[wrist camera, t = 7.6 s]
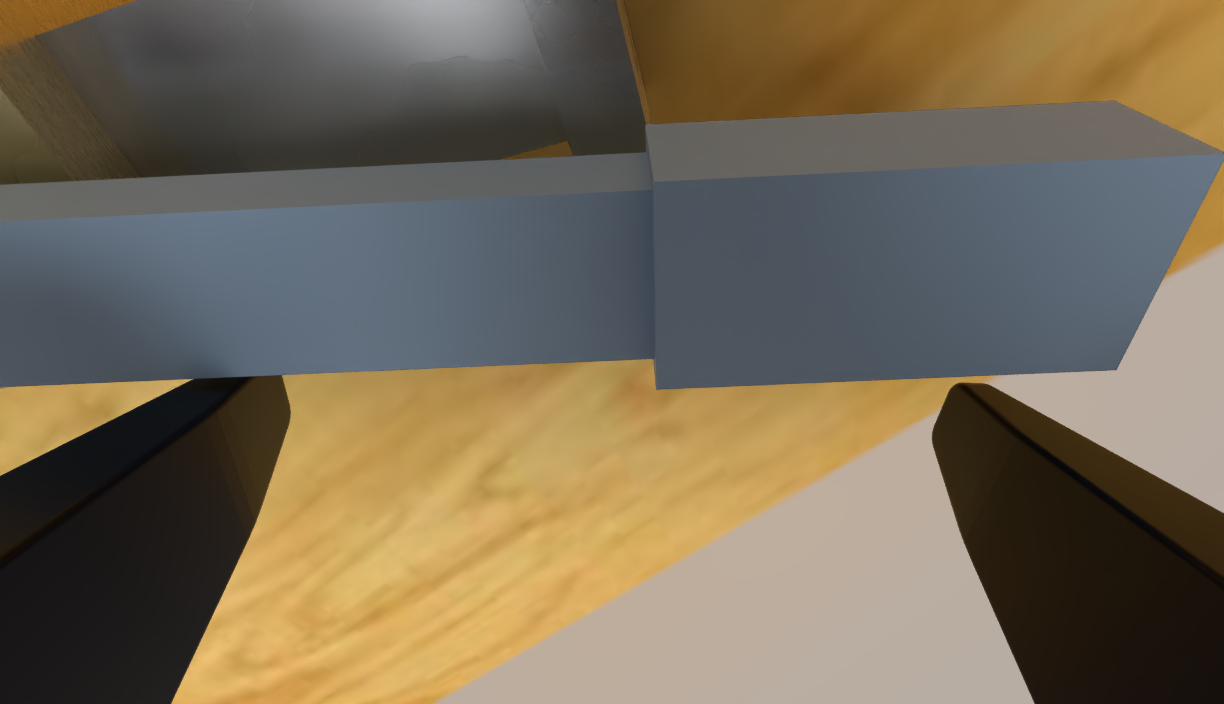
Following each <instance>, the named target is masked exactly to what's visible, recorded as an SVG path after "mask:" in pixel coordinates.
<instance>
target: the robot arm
mask: <svg viewBox="0 0 1224 704" xmlns="http://www.w3.org/2000/svg"><path fill="white" fill-rule="evenodd" d="M290 415H291V411H290V404H289V400H288V396H287V393H286V389H285V385H284V382H283V378H282V375H269V376H246V377H223V378H200V379H193V380H191V381H189V382H187V383H185V384H183V385H181V386H179V387H177V388H175V389H173V390H171V391H169V392H167V393H165V394H163V395H161V396H159V397H157V398H155V399H153V400H151V401H149V402H147V403H145V404H143V405H141V406H139V407H137V408H135V409H133V410H131V411H129V412H127V413H125V414H123V415H121V416H119V417H117V418H115V419H113V420H111V421H109V422H107V423H105V424H103V425H101V426H99V427H97V428H95V429H93V430H91V431H89V432H87V433H85V434H83V435H81V436H79V437H77V438H75V439H73V440H71V441H69V442H67V443H65V444H63V445H61V446H59V447H57V448H55V449H53V450H51V451H49V452H47V453H45V454H43V455H41V456H39V457H37V458H35V459H33V460H31V461H29V462H27V463H25V464H23V465H21V466H19V467H17V468H15V469H13V470H11V471H9V472H7V473H5V474H3V475H1V476H0V704H171V703H172V701H173V698H174V696H175V694H176V692H177V690H178V688H179V686H180V684H181V681H182V679H183V677H184V675H185V673H186V671H187V669H188V667H189V664H190V662H191V660H192V658H193V656H194V654H195V652H196V650H197V648H198V645H199V643H200V641H201V639H202V637H203V635H204V633H205V631H206V628H207V626H208V624H209V622H210V620H211V618H212V616H213V614H214V611H215V609H216V607H217V605H218V603H219V601H220V599H221V597H222V594H223V592H224V590H225V588H226V586H227V584H228V582H229V580H230V578H231V575H232V573H233V571H234V569H235V567H236V565H237V563H238V561H239V558H240V556H241V554H242V552H243V550H244V548H245V546H246V544H247V541H248V539H249V537H250V535H251V532H252V530H253V528H254V526H255V523H256V521H257V518H258V515H259V513H260V510H261V507H262V504H263V501H264V498H265V495H266V492H267V489H268V486H269V483H270V480H271V477H272V474H273V471H274V468H275V465H276V462H277V459H278V456H279V453H280V450H281V447H282V444H283V441H284V438H285V435H286V432H287V429H288V426H289V423H290ZM932 443H933V448H934V451H935V454H936V457H937V460H938V464H939V467H940V470H941V473H942V476H943V479H944V483H945V486H946V489H947V492H948V495H949V499H950V502H951V505H952V508H953V511H954V514H955V518H956V521H957V524H958V527H959V530H960V533H961V535H962V538H963V541H964V544H965V546H966V548H967V551H968V553H969V556H970V558H971V561H972V563H973V565H974V567H975V570H976V572H977V574H978V576H979V579H980V581H981V583H982V586H983V588H984V590H985V592H986V595H987V597H988V599H989V601H990V604H991V606H992V608H993V610H994V613H995V615H996V617H997V619H998V622H999V624H1000V626H1001V628H1002V631H1003V633H1004V635H1005V637H1006V640H1007V642H1008V644H1009V647H1010V649H1011V651H1012V654H1013V656H1014V658H1015V660H1016V663H1017V665H1018V667H1019V669H1020V672H1021V674H1022V676H1023V679H1024V681H1025V683H1026V685H1027V687H1028V690H1029V692H1030V694H1031V696H1032V699H1033V701H1034V703H1035V704H1224V513H1222V512H1220V511H1219V510H1217V509H1215V508H1213V507H1211V506H1209V505H1208V504H1206V503H1204V502H1202V501H1200V500H1198V499H1197V498H1195V497H1193V496H1191V495H1190V494H1188V493H1186V492H1184V491H1182V490H1180V489H1178V488H1177V487H1175V486H1173V485H1171V484H1169V483H1168V482H1166V481H1164V480H1162V479H1160V478H1158V477H1157V476H1155V475H1153V474H1151V473H1149V472H1148V471H1146V470H1144V469H1142V468H1140V467H1138V466H1137V465H1135V464H1133V463H1131V462H1129V461H1127V460H1126V459H1124V458H1122V457H1120V456H1118V455H1117V454H1114V453H1113V452H1111V451H1109V450H1107V449H1106V448H1104V447H1102V446H1100V445H1098V444H1096V443H1095V442H1093V441H1091V440H1089V439H1087V438H1085V437H1084V436H1082V435H1080V434H1078V433H1076V432H1074V431H1073V430H1071V429H1069V428H1067V427H1065V426H1063V425H1062V424H1060V423H1058V422H1056V421H1054V420H1053V419H1051V418H1049V417H1047V416H1045V415H1043V414H1042V413H1040V412H1038V411H1036V410H1034V409H1033V408H1031V407H1029V406H1027V405H1025V404H1023V403H1022V402H1020V401H1018V400H1016V399H1014V398H1012V397H1011V396H1009V395H1007V394H1005V393H1003V392H1001V391H1000V390H998V389H996V388H994V387H992V386H990V385H988V384H984V383H957V384H955V385H954V386H953V387H952V388H951V389H950V391H949V392H948V395H947V397H946V399H945V402H944V404H943V406H942V409H941V411H940V413H939V416H938V418H937V420H936V423H935V425H934V428H933V432H932Z"/></svg>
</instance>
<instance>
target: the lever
mask: <svg viewBox="0 0 1224 704" xmlns="http://www.w3.org/2000/svg"><path fill="white" fill-rule="evenodd" d="M645 134H646V152H645V153H625V154H605V155H585V156H565V157H546V158H526V159H506V160H486V161H466V162H446V163H426V164H406V165H386V166H366V167H346V168H326V169H307V170H287V171H267V172H247V173H227V174H207V175H187V176H167V177H147V178H127V179H107V180H87V181H68V182H48V183H28V184H8V185H0V387H16V386H39V385H62V384H85V383H108V382H131V381H154V380H177V379H200V378H223V377H246V376H269V375H292V374H315V373H338V372H361V371H384V370H407V369H431V368H454V367H477V366H500V365H523V364H546V363H569V362H592V361H615V360H638V359H653V360H654V370H655V381H656V390H659V389H682V388H706V387H729V386H753V385H777V384H800V383H824V382H847V381H871V380H895V379H918V378H942V377H965V376H989V375H1012V374H1035V373H1058V372H1082V371H1107V370H1117V368H1118V366H1119V364H1120V362H1121V360H1122V358H1123V356H1124V354H1125V352H1126V350H1127V348H1128V346H1129V345H1130V343H1131V341H1132V339H1133V337H1134V335H1135V333H1136V331H1137V329H1138V327H1139V325H1140V323H1141V321H1142V319H1143V317H1144V315H1145V313H1146V311H1147V309H1148V307H1149V305H1150V303H1151V301H1152V299H1153V297H1154V295H1155V293H1156V292H1157V290H1158V288H1159V286H1160V284H1161V282H1162V280H1163V278H1164V276H1165V274H1166V272H1167V270H1168V268H1169V266H1170V264H1171V262H1172V260H1173V258H1174V256H1175V255H1176V253H1177V251H1178V249H1179V247H1180V245H1181V243H1182V241H1183V239H1184V237H1185V235H1186V233H1187V231H1188V229H1189V227H1190V225H1191V223H1192V221H1193V219H1194V217H1195V215H1196V213H1197V211H1198V210H1199V208H1200V206H1201V204H1202V202H1203V200H1204V198H1205V196H1206V194H1207V192H1208V190H1209V188H1210V186H1211V184H1212V182H1213V180H1214V178H1215V176H1216V174H1217V172H1218V170H1219V168H1220V166H1221V165H1222V163H1223V161H1224V152H1222V151H1220V150H1218V149H1216V148H1214V147H1212V146H1210V145H1208V144H1205V143H1203V142H1201V141H1199V140H1197V139H1195V138H1193V137H1191V136H1188V135H1186V134H1184V133H1182V132H1180V131H1178V130H1176V129H1174V128H1171V127H1169V126H1167V125H1165V124H1163V123H1161V122H1159V121H1157V120H1154V119H1152V118H1150V117H1148V116H1146V115H1144V114H1142V113H1140V112H1137V111H1135V110H1133V109H1131V108H1129V107H1127V106H1125V105H1123V104H1120V103H1118V102H1116V101H1095V102H1076V103H1056V104H1037V105H1017V106H997V107H978V108H958V109H939V110H919V111H900V112H880V113H861V114H841V115H821V116H802V117H782V118H763V119H743V120H724V121H704V122H685V123H665V124H645Z"/></svg>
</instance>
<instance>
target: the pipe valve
mask: <svg viewBox="0 0 1224 704" xmlns="http://www.w3.org/2000/svg"><path fill="white" fill-rule="evenodd" d="M645 124H651V121H650V115H649V110H648V104H647V98H646V93H645V89H644V84H643V80H642V76H641V72H640V68H639V63H638V59H637V55H636V51H635V47H634V43H633V38H632V34H631V30H630V26H629V22H628V17H627V13H626V9H625V5H624V1H623V0H0V185H8V184H28V183H48V182H68V181H87V180H107V179H127V178H147V177H167V176H187V175H207V174H227V173H247V172H267V171H287V170H307V169H326V168H346V167H366V166H386V165H406V164H426V163H446V162H466V161H486V160H499V159H503V158H506V157H510V156H513V155H517V154H520V153H524V152H528V151H531V150H535V149H538V148H542V147H545V146H549V145H552V144H556V143H560V142H563V141H567V140H568V141H569V145H570V148H571V151H572V154H573V156H585V155H605V154H625V153H645V152H646V134H645ZM2 388H6V387H0V389H2Z"/></svg>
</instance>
